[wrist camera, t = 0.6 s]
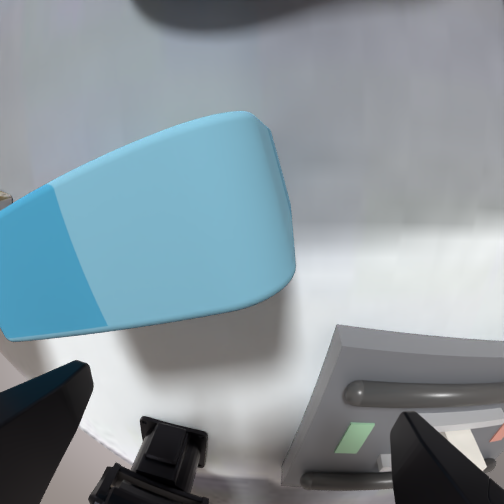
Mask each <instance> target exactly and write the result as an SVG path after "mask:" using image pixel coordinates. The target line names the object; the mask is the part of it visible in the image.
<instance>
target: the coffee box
mask: <svg viewBox="0 0 504 504" xmlns="http://www.w3.org/2000/svg"><path fill="white" fill-rule="evenodd" d="M10 204H12V197H11V195H9V194H6V193H4V192H2V191H0V211H1V210H2V209H4V208H6V207H7V206H9V205H10Z"/></svg>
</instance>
